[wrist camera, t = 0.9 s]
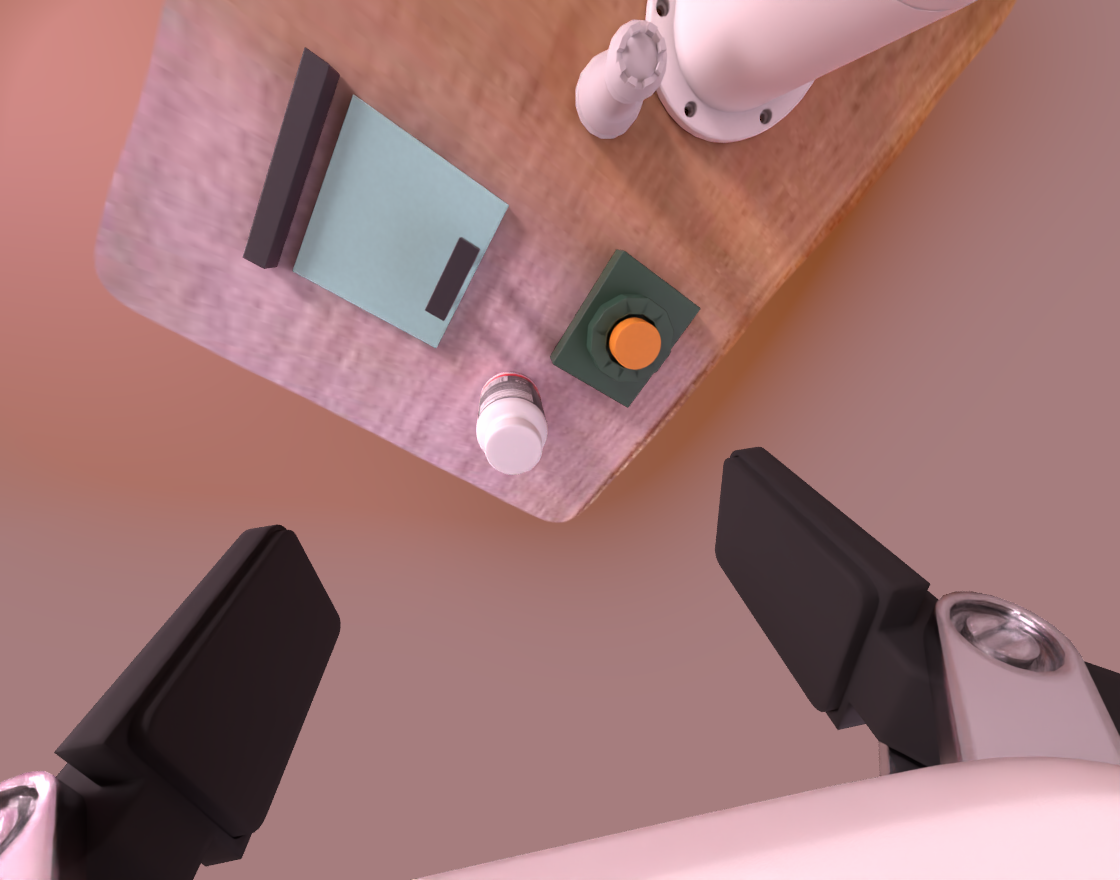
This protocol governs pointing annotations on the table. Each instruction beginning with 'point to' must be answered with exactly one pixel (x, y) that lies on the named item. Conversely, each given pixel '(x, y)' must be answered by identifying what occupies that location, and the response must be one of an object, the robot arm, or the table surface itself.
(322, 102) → the bar
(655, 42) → the rook chess piece
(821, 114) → the table surface
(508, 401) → the pill bottle
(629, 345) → the button
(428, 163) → the pale blue flat panel
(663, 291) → the button box
